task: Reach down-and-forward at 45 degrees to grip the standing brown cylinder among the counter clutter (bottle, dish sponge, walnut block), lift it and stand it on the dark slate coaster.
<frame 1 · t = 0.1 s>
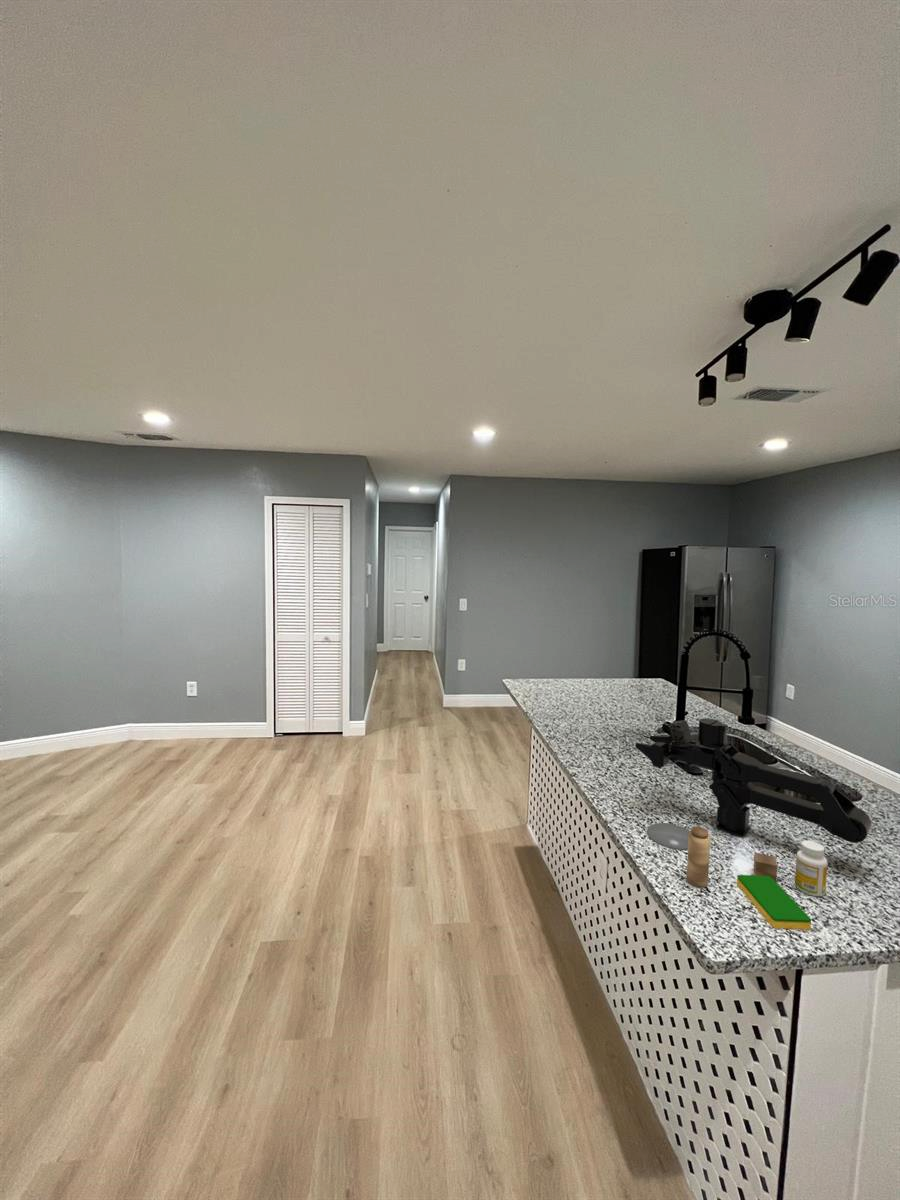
hand: (643, 741, 153), 17 cm above the countertop, tool horizontal, fingers open, 9 cm apart
walnut block: (764, 876, 115), on the countertop
supplement bottle: (809, 889, 111), on the countertop
slate coaster: (672, 836, 131), on the countertop
brown cylinder: (697, 881, 113), on the countertop
dish sponge: (771, 907, 106), on the countertop
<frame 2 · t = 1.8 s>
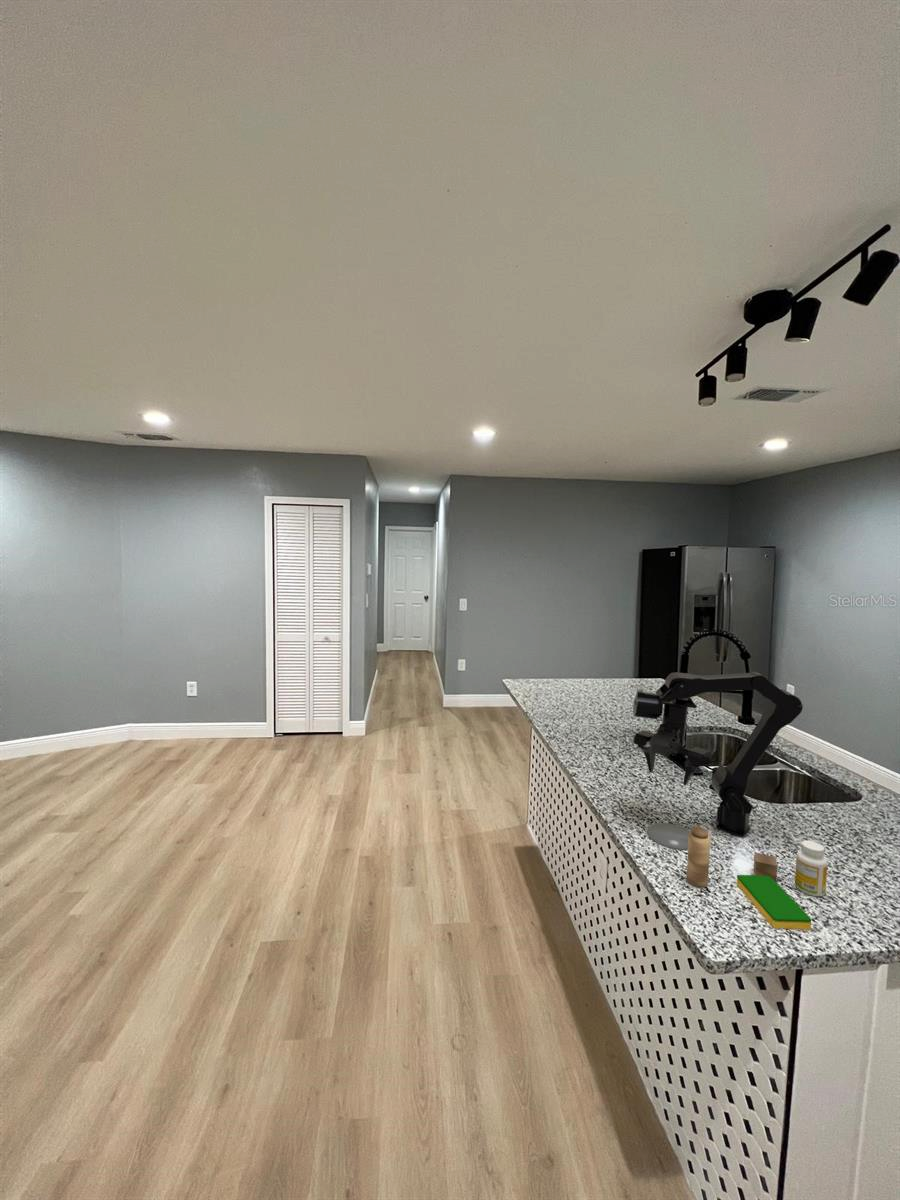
hand: (667, 778, 138), 12 cm above the countertop, tool pointing down, fingers open, 9 cm apart
nothing on the countertop moved.
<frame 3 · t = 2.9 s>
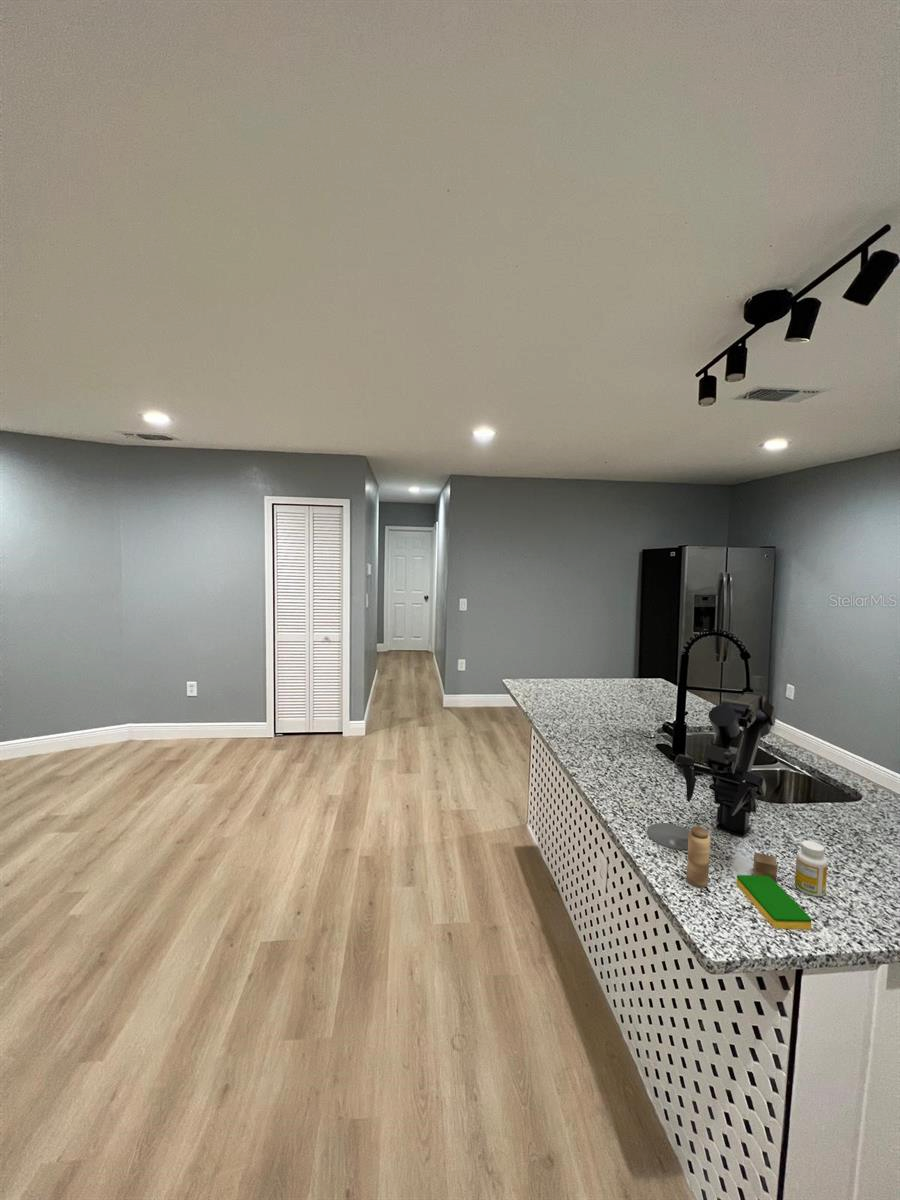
hand: (709, 808, 118), 13 cm above the countertop, tool tilted 45°, fingers open, 9 cm apart
nothing on the countertop moved.
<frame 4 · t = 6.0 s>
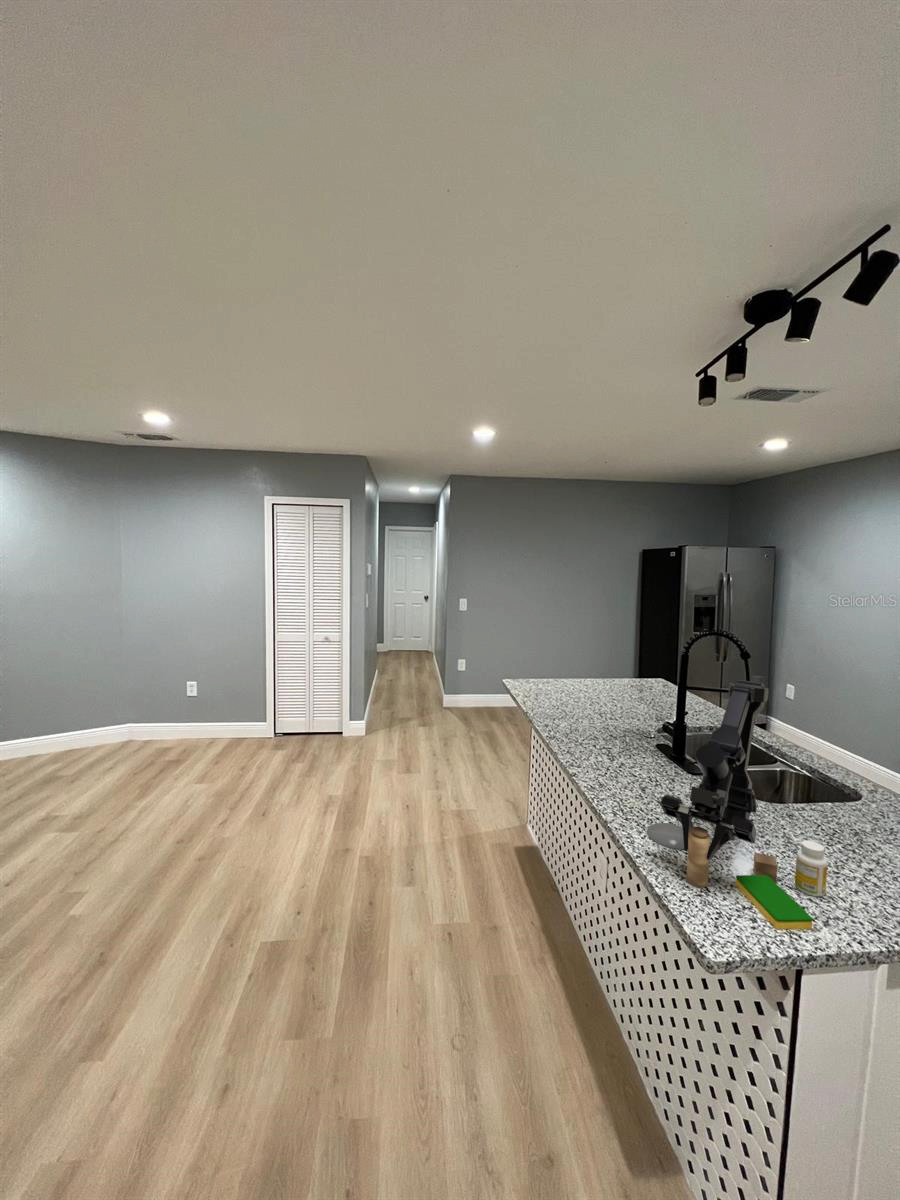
hand: (696, 855, 111), 7 cm above the countertop, tool tilted 45°, fingers closed on brown cylinder, 4 cm apart
brown cylinder: (697, 881, 113), on the countertop, touching gripper
everything else where it was.
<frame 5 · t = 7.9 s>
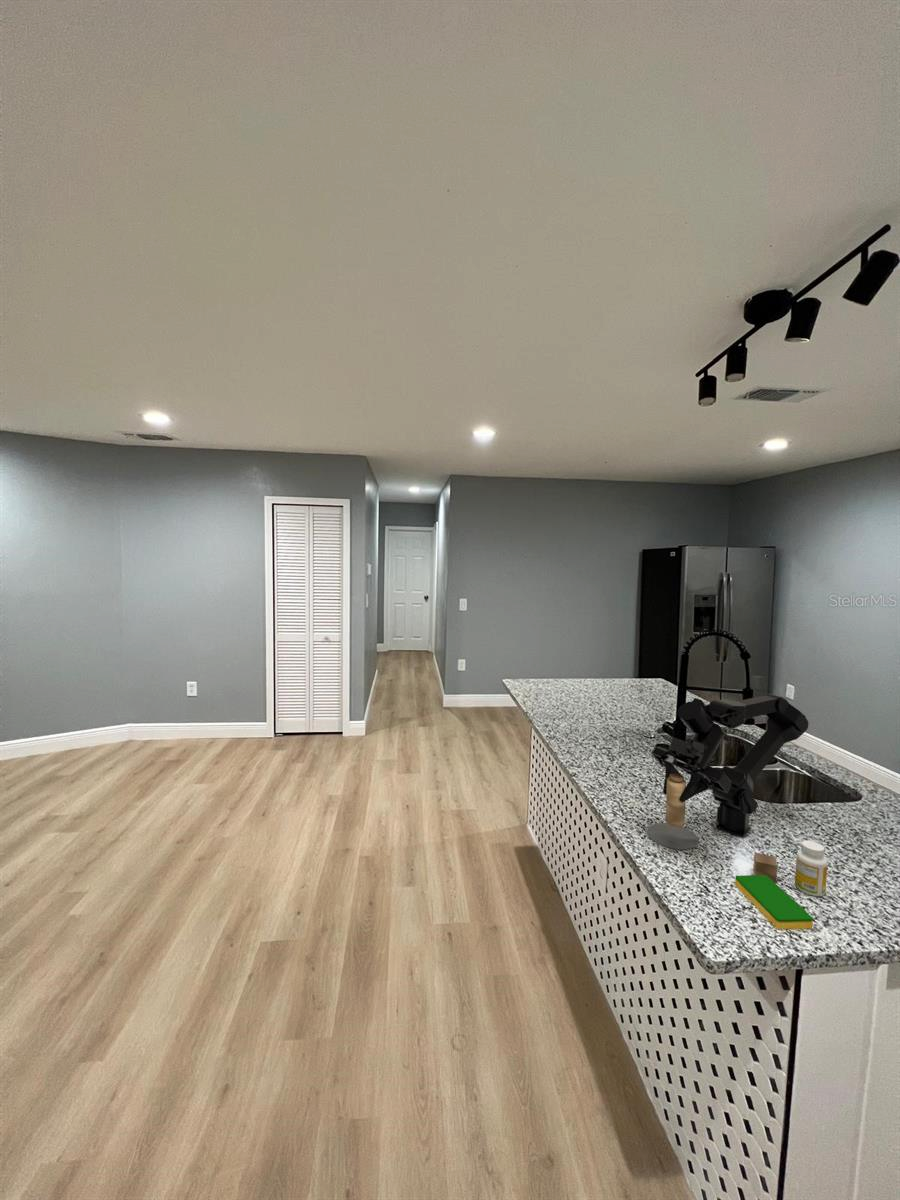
hand: (672, 797, 124), 13 cm above the countertop, tool tilted 45°, fingers closed on brown cylinder, 4 cm apart
brown cylinder: (675, 822, 125), point 6 cm above the countertop, touching gripper
everything else where it was.
when the fingers open (7 cm above the countertop, at t = 9.8 s): brown cylinder stays where it is, resting on slate coaster.
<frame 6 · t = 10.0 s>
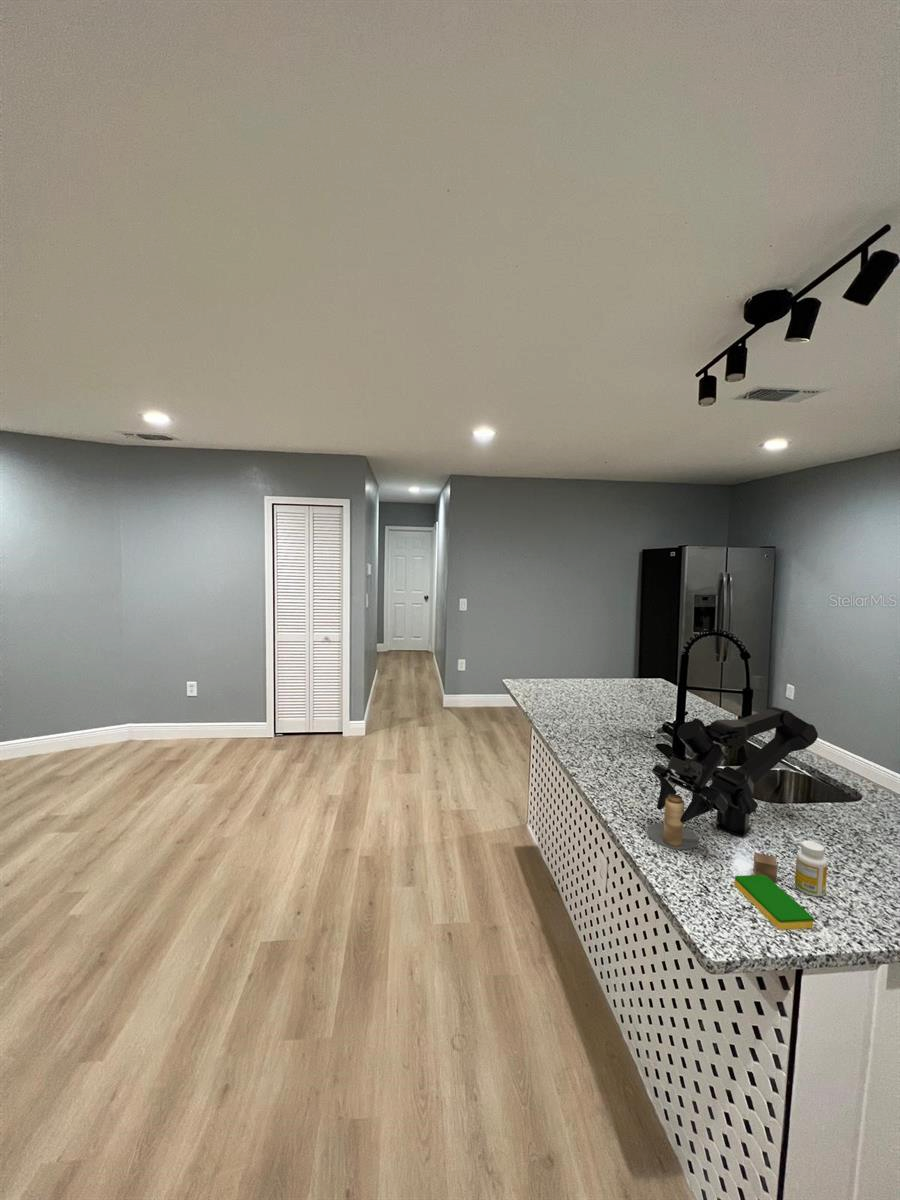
hand: (669, 815, 126), 8 cm above the countertop, tool tilted 45°, fingers open, 7 cm apart
brown cylinder: (672, 842, 128), resting on slate coaster
everything else where it was.
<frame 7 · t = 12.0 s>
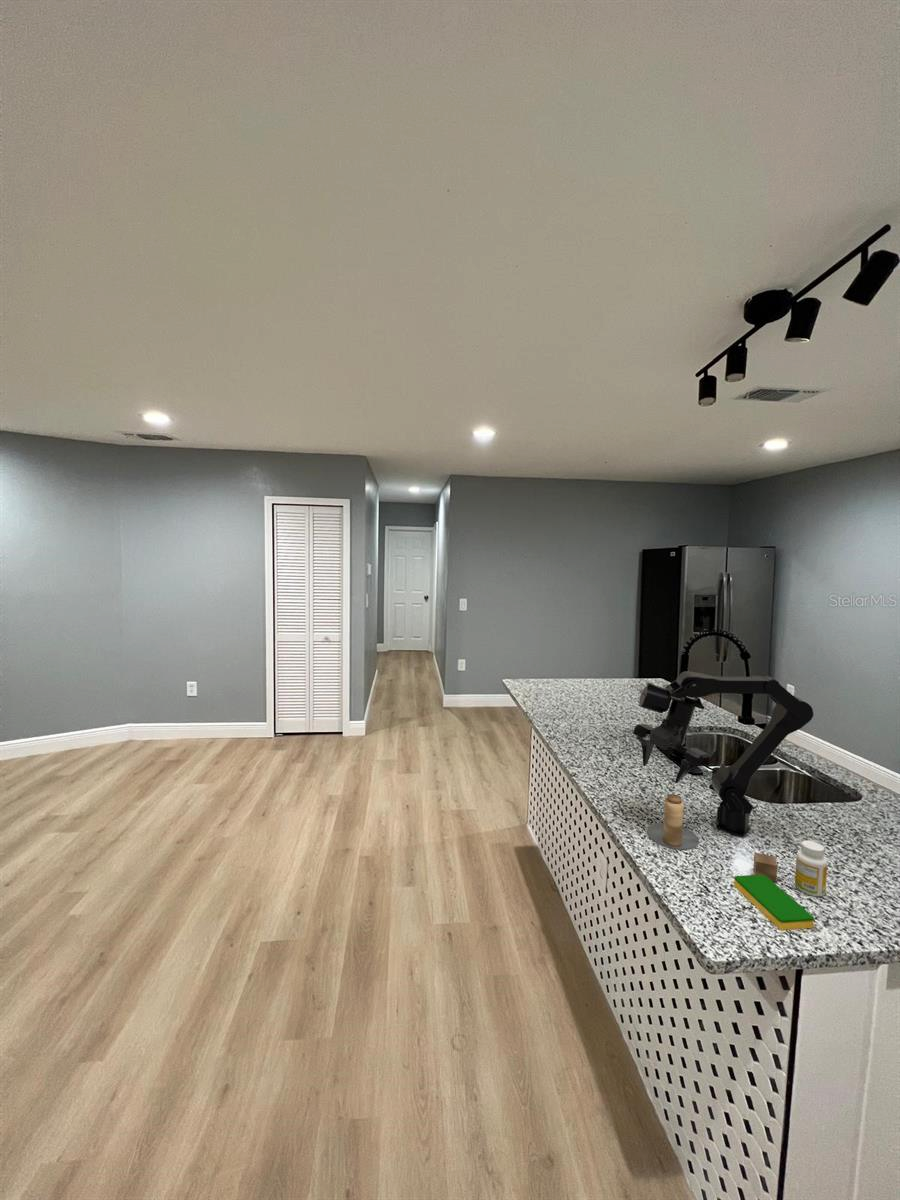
hand: (660, 774, 138), 13 cm above the countertop, tool pointing down, fingers open, 9 cm apart
nothing on the countertop moved.
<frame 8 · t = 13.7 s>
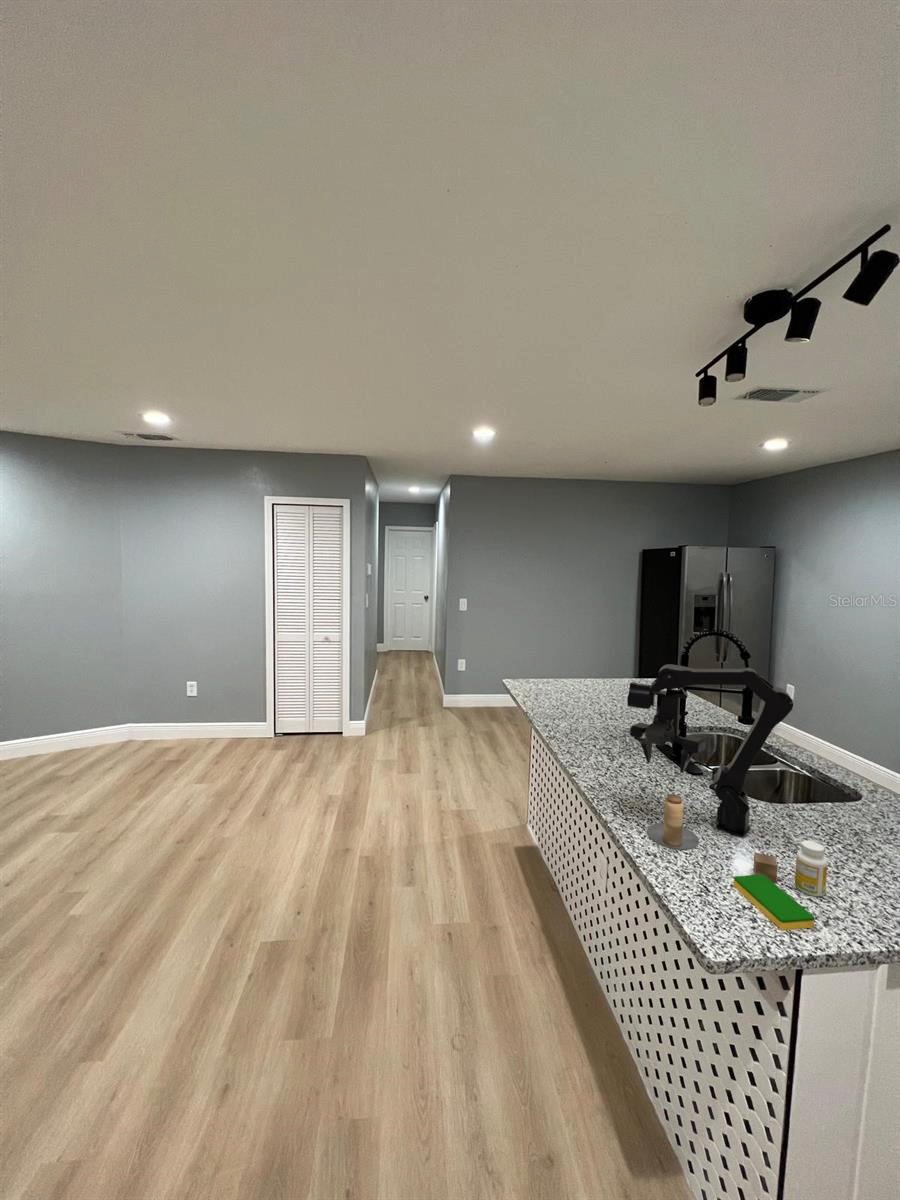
hand: (664, 767, 142), 13 cm above the countertop, tool pointing down, fingers open, 9 cm apart
nothing on the countertop moved.
at the end: brown cylinder 3.8 cm from the slate coaster (horizontally); brown cylinder tilted 0°; brown cylinder resting on slate coaster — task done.
